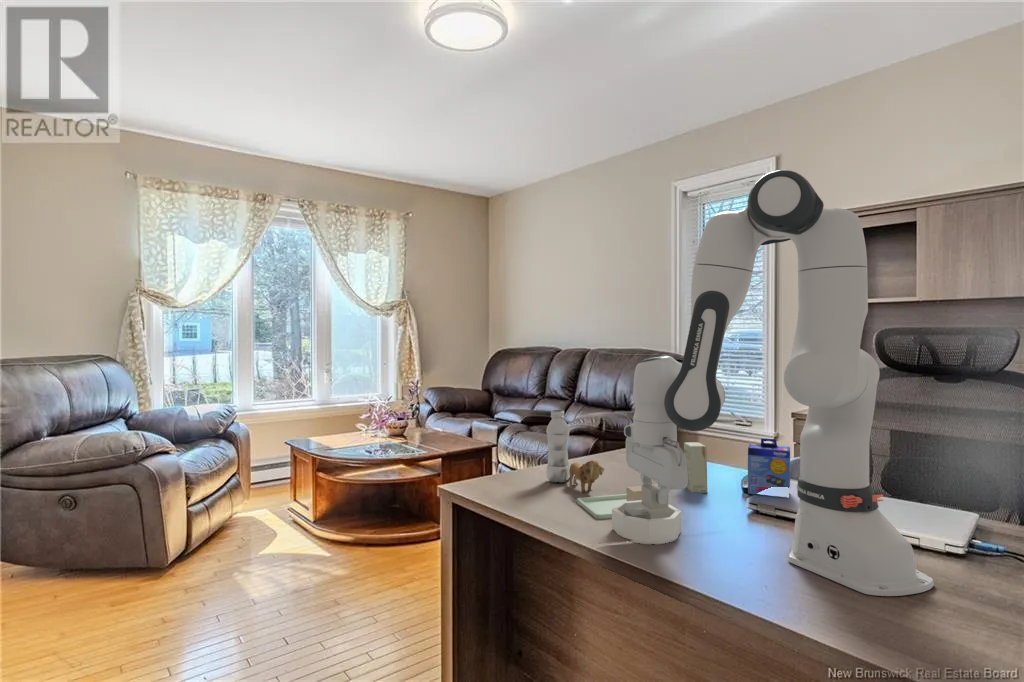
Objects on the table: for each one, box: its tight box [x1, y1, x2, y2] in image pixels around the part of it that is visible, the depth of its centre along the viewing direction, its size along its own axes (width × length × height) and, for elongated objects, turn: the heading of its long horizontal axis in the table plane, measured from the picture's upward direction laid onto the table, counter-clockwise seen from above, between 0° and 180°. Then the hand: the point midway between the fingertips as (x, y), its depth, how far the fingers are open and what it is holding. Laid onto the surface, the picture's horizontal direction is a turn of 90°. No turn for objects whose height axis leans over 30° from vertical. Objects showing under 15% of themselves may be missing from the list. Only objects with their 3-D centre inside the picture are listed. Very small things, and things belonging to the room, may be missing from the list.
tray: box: [576, 493, 627, 520], centre depth 134 cm, size 13×16×1 cm
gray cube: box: [624, 508, 651, 519], centre depth 117 cm, size 4×4×4 cm
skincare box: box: [683, 441, 708, 494], centre depth 149 cm, size 6×4×12 cm
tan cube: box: [625, 485, 642, 501], centre depth 135 cm, size 4×4×4 cm
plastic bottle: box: [545, 409, 570, 483], centre depth 158 cm, size 6×7×20 cm
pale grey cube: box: [641, 483, 669, 510], centre depth 118 cm, size 4×4×4 cm
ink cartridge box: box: [747, 437, 791, 495], centre depth 145 cm, size 10×6×14 cm, turn 64°
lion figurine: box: [564, 459, 605, 494], centre depth 150 cm, size 15×5×9 cm, turn 32°
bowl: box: [611, 500, 682, 545], centre depth 118 cm, size 13×13×5 cm
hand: (655, 499), depth 118 cm, fingers closed on pale grey cube, 4 cm apart
